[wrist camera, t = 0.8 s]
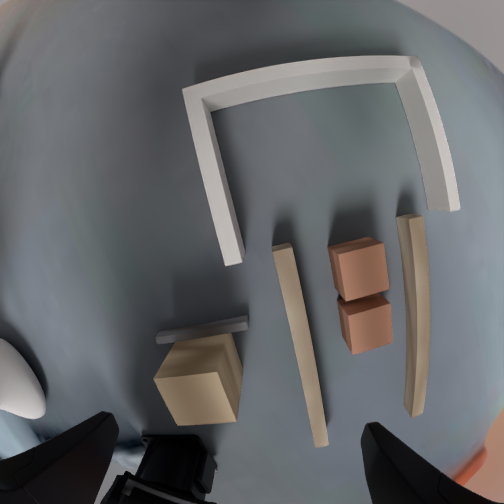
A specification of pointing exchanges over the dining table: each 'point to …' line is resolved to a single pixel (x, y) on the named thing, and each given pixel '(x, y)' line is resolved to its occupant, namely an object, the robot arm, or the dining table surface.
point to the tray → (310, 78)
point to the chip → (359, 268)
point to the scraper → (202, 372)
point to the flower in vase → (19, 385)
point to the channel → (416, 322)
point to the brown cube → (366, 322)
